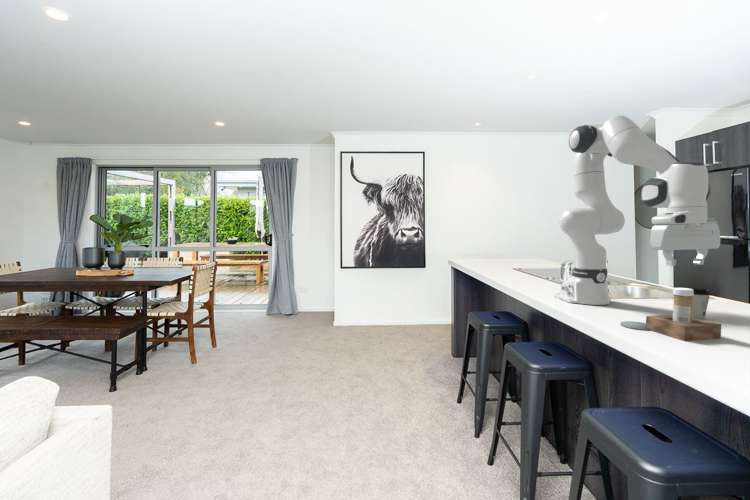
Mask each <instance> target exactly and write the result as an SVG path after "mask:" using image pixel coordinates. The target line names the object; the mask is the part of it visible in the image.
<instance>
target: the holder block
mask: <svg viewBox="0 0 750 500" xmlns="http://www.w3.org/2000/svg"><path fill="white" fill-rule="evenodd" d="M645 323H646V328H649V329H650V330H649V331H652V332H654V333H656V334H661V335H665V336H667V337H671V338H673V339H677V340H679V341H684V342H687V341H701V340H714V339H715V340H717V339H722V323H718V322H714V321H709V320H705V319H697V318H693V317H692V323H684V324H683V323H680V322H676V321H673V314H661V315H660V314H659V315H646V316H645Z"/></svg>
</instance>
